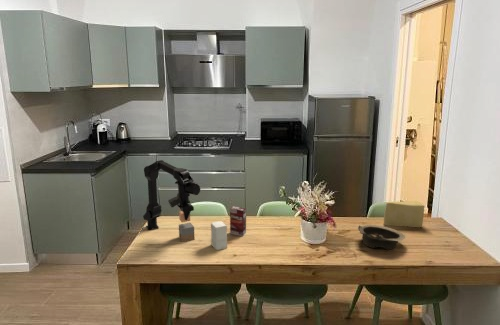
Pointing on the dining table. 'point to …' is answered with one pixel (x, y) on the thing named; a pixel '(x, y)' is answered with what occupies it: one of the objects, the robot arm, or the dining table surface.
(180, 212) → the terracotta cube
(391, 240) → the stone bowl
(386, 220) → the cheese
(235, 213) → the supplement box
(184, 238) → the tower base
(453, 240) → the dining table surface
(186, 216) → the robot arm
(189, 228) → the tower top
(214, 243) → the small box
